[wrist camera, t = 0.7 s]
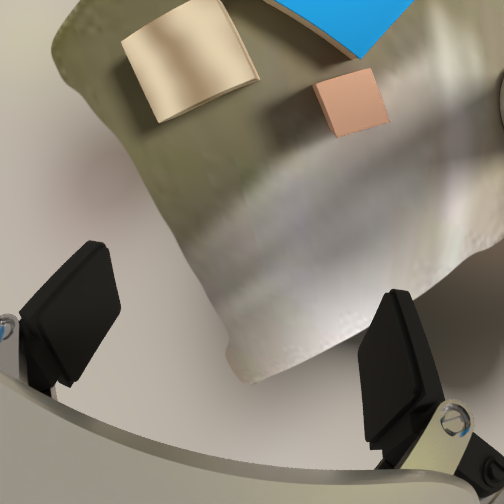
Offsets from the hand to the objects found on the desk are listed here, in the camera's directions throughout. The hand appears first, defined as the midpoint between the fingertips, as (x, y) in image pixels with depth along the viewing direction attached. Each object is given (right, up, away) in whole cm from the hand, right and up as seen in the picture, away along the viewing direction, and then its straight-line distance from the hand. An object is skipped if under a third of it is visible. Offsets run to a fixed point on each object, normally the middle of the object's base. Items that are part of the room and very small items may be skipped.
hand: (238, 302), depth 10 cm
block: (+10, +17, +17) cm, 26 cm away
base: (-5, +22, +17) cm, 28 cm away
